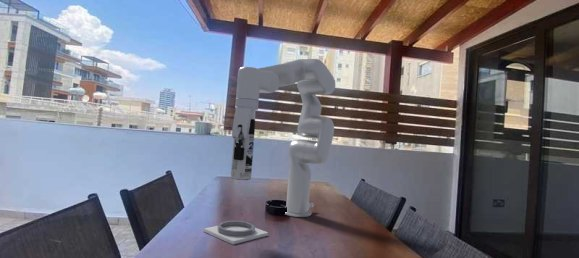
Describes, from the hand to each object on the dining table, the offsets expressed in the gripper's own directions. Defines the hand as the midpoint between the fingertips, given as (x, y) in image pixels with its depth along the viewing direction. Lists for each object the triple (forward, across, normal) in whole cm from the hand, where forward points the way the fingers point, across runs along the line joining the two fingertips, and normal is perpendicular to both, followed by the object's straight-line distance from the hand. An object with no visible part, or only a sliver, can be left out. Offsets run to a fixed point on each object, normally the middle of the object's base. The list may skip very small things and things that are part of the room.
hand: (242, 158), depth 115 cm
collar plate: (+25, 0, 0) cm, 25 cm away
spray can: (+7, 0, 0) cm, 7 cm away
